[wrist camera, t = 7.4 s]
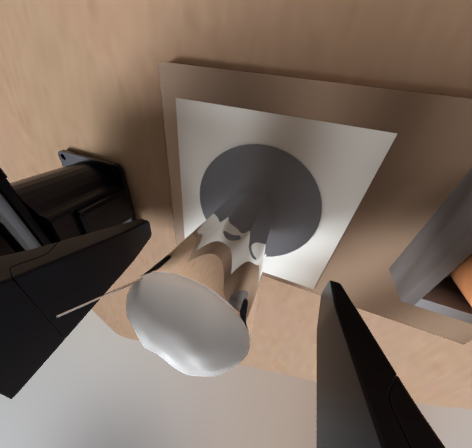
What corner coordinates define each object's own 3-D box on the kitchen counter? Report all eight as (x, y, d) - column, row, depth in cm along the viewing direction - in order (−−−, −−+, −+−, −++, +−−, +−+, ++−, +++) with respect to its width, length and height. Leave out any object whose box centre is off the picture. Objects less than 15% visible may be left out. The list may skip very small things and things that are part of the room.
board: (181, 240, 19) (159, 263, 16) (166, 62, 11) (121, 55, 9) (457, 332, 14) (486, 386, 11) (768, 134, 6) (1059, 165, 4)
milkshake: (252, 152, 11) (87, 305, 3) (298, 227, 13) (260, 453, 5) (199, 189, 14) (34, 324, 6) (243, 247, 15) (159, 416, 7)
